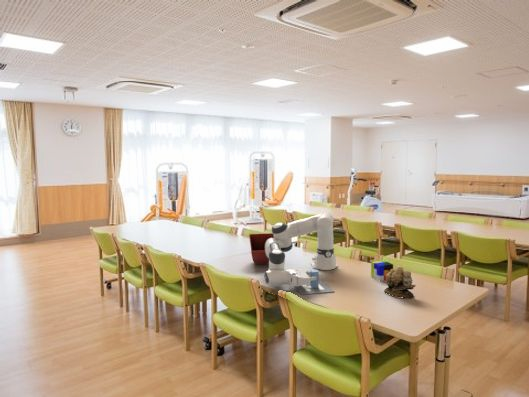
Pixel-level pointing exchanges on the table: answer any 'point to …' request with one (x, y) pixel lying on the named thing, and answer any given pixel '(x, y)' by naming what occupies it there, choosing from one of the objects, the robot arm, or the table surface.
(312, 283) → the blue block
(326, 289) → the letter board
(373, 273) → the puzzle toy
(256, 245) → the plant pot
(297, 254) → the table surface
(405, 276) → the owl figurine
